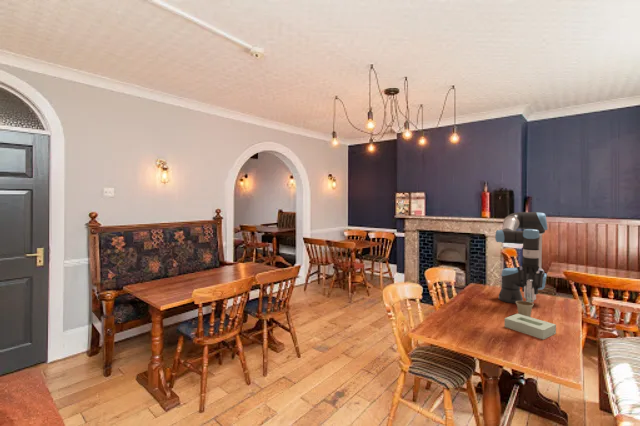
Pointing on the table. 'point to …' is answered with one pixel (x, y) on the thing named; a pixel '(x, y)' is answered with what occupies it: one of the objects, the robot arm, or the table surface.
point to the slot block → (530, 326)
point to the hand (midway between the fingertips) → (529, 298)
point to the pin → (529, 290)
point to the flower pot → (524, 308)
